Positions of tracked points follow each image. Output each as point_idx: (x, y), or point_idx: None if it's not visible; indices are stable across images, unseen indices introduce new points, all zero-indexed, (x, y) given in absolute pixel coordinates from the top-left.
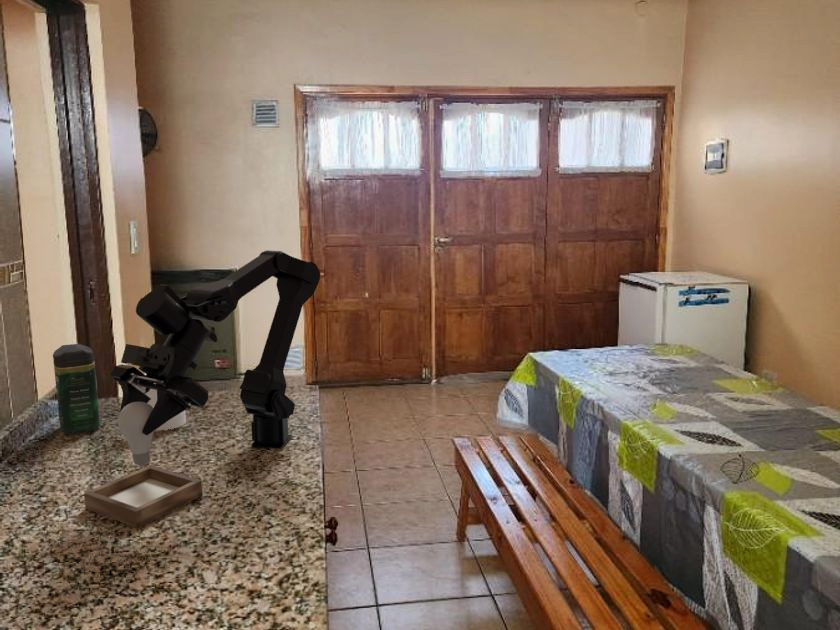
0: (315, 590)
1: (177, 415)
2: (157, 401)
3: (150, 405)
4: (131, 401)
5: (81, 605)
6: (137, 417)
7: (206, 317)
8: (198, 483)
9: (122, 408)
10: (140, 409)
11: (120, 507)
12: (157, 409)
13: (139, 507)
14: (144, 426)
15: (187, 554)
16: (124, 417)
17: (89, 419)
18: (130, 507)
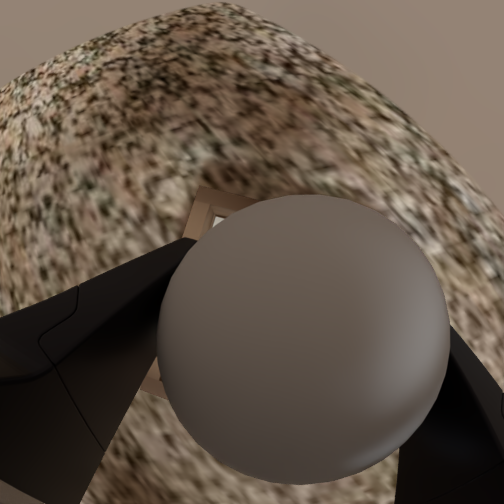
0: None
1: None
2: (30, 362)
3: (221, 447)
4: (463, 462)
5: (161, 31)
6: (218, 227)
7: None
8: (144, 378)
9: (478, 377)
10: (215, 279)
11: (257, 201)
12: (46, 302)
13: (203, 205)
14: (181, 252)
15: (73, 155)
16: (330, 198)
17: None
18: (227, 200)
